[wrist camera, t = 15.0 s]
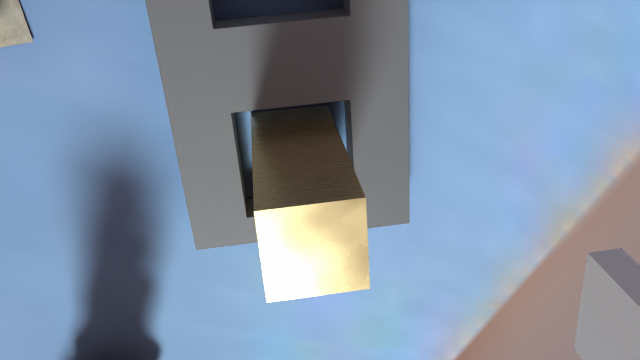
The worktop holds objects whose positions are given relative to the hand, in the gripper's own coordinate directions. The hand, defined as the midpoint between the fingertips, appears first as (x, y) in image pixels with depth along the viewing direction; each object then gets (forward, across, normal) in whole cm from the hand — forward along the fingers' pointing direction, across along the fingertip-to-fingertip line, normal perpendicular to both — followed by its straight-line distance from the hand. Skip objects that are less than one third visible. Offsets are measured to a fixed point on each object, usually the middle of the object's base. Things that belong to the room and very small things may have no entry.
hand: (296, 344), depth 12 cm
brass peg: (+22, +1, -5) cm, 23 cm away
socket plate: (+22, +1, 0) cm, 22 cm away
